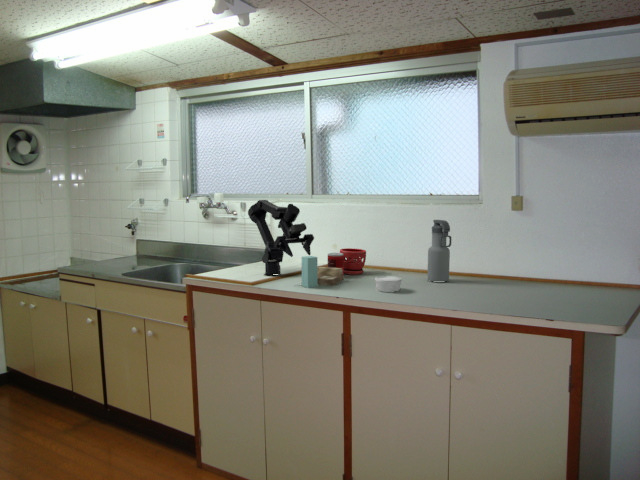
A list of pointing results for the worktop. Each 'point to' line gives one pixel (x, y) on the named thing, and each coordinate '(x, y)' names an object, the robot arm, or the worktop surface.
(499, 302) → the worktop surface
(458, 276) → the worktop surface
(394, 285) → the ramekin
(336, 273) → the beam
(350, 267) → the plant pot
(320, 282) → the baseplate
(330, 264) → the canned food
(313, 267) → the column
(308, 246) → the robot arm
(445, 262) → the water bottle
